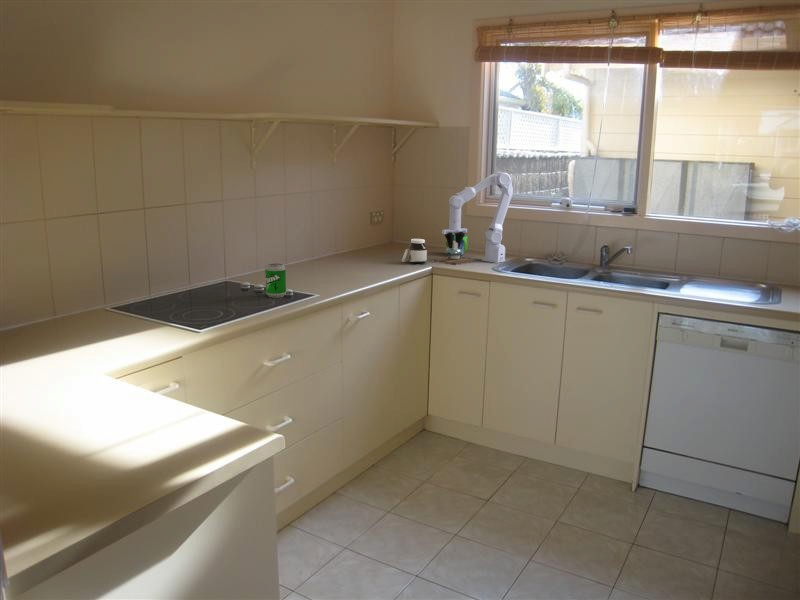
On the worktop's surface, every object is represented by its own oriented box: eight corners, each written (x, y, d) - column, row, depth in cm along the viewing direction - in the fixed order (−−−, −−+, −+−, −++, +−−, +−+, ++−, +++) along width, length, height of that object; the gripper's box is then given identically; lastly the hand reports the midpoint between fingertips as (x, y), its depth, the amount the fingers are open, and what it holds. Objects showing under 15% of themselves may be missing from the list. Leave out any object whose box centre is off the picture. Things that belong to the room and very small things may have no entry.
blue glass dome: (444, 252, 347) (444, 240, 346) (460, 252, 348) (460, 240, 347) (447, 255, 339) (448, 243, 337) (463, 255, 340) (464, 243, 338)
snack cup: (473, 256, 359) (474, 237, 357) (456, 258, 354) (456, 238, 352) (457, 252, 372) (457, 233, 370) (440, 253, 367) (440, 234, 365)
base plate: (473, 261, 345) (473, 254, 344) (455, 264, 335) (456, 257, 334) (451, 257, 354) (451, 251, 353) (433, 261, 344) (434, 254, 343)
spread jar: (428, 264, 334) (429, 240, 332) (407, 265, 330) (407, 241, 328) (418, 260, 345) (419, 237, 342) (397, 261, 341) (398, 238, 338)
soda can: (277, 292, 269) (276, 262, 266) (290, 295, 264) (289, 264, 261) (261, 295, 263) (261, 264, 260) (274, 299, 258) (274, 267, 256)
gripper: (448, 221, 333) (447, 249, 336) (471, 220, 341) (470, 247, 344) (439, 220, 338) (438, 247, 341) (462, 218, 346) (461, 245, 349)
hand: (454, 247), depth 343 cm, fingers closed on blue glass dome, 4 cm apart
